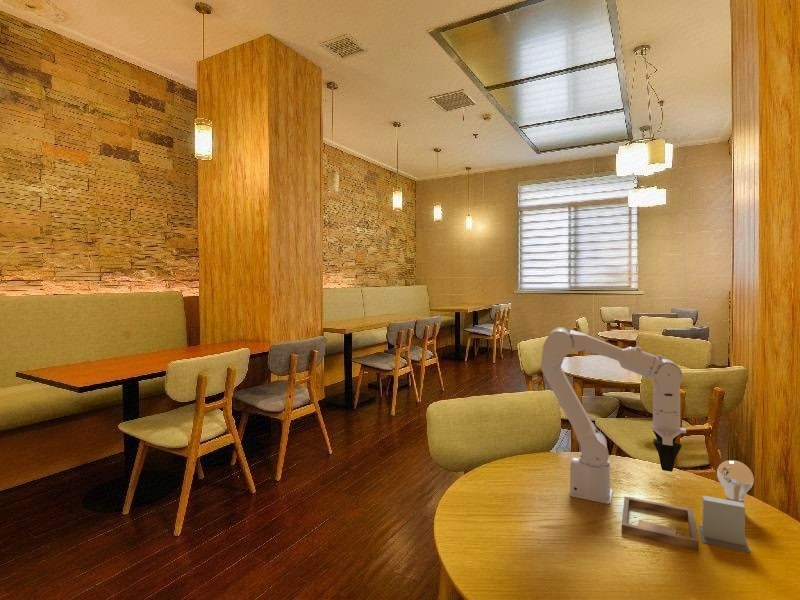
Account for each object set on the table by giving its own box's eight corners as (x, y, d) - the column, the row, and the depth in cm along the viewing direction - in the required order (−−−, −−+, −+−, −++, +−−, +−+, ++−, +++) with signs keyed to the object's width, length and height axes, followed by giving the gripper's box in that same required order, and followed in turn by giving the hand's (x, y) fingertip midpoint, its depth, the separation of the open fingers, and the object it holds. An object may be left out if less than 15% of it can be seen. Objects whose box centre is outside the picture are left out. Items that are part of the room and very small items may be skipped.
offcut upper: (637, 530, 98) (637, 526, 98) (639, 523, 100) (639, 519, 100) (675, 541, 93) (675, 536, 93) (676, 534, 96) (676, 529, 96)
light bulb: (760, 519, 101) (760, 468, 100) (725, 517, 102) (726, 466, 102) (743, 504, 108) (743, 456, 107) (711, 502, 109) (711, 454, 108)
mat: (702, 543, 93) (702, 541, 93) (699, 526, 99) (699, 525, 99) (750, 553, 89) (750, 552, 89) (743, 535, 95) (743, 534, 95)
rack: (621, 533, 97) (621, 524, 97) (624, 504, 109) (624, 496, 109) (698, 551, 90) (698, 541, 90) (692, 517, 102) (692, 509, 102)
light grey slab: (703, 536, 95) (703, 500, 94) (702, 531, 96) (702, 495, 96) (744, 545, 91) (744, 507, 91) (742, 539, 93) (743, 502, 93)
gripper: (688, 420, 99) (688, 479, 100) (683, 403, 111) (683, 456, 112) (652, 416, 102) (652, 473, 103) (651, 400, 115) (651, 451, 116)
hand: (666, 464), depth 108 cm, fingers open, 7 cm apart
